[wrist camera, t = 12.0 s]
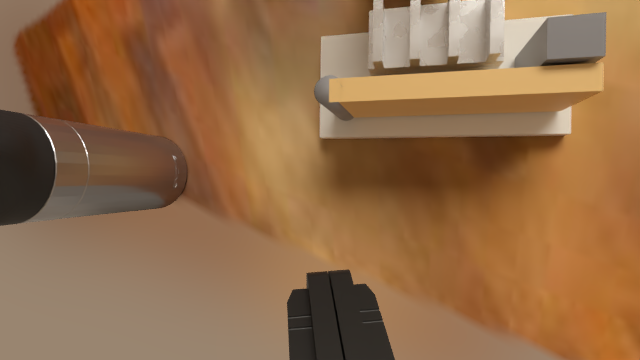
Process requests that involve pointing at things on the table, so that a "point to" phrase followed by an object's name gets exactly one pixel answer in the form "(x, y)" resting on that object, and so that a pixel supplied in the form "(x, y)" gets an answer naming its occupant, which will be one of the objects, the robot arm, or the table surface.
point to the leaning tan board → (461, 91)
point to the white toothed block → (436, 37)
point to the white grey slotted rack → (519, 51)
